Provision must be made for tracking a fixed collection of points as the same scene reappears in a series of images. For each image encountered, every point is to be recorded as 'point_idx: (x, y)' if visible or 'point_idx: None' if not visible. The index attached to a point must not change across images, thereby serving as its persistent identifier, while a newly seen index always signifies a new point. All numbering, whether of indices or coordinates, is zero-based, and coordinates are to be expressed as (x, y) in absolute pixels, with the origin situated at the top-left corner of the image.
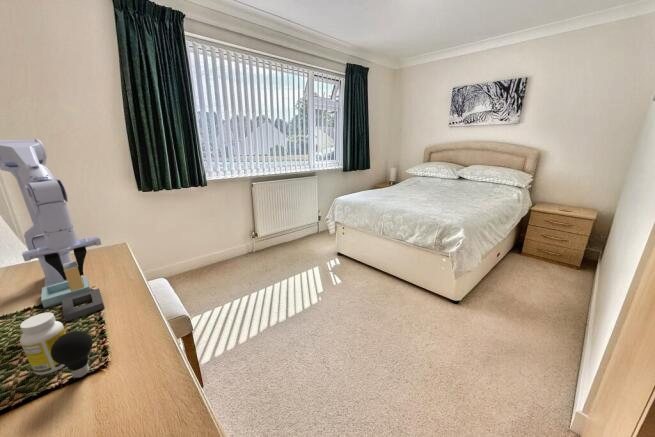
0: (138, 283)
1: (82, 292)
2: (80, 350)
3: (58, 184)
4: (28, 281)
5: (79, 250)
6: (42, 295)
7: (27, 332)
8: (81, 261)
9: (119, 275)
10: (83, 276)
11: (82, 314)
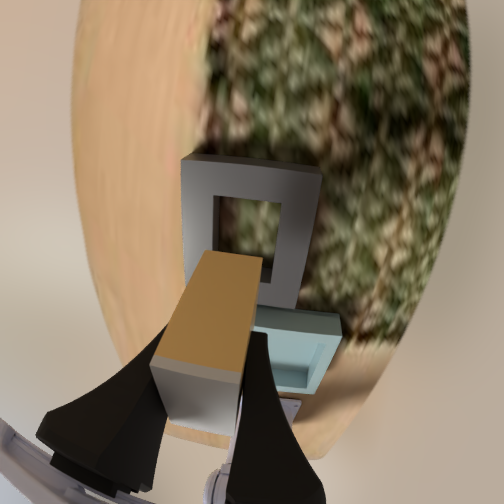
0: (93, 248)
1: None
2: None
3: None
4: (315, 426)
5: (82, 467)
6: (328, 360)
7: None
8: (115, 387)
9: (145, 337)
10: None
11: (262, 161)
